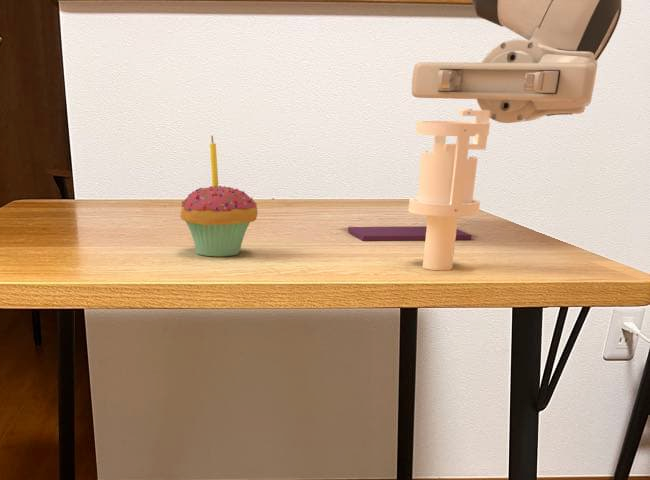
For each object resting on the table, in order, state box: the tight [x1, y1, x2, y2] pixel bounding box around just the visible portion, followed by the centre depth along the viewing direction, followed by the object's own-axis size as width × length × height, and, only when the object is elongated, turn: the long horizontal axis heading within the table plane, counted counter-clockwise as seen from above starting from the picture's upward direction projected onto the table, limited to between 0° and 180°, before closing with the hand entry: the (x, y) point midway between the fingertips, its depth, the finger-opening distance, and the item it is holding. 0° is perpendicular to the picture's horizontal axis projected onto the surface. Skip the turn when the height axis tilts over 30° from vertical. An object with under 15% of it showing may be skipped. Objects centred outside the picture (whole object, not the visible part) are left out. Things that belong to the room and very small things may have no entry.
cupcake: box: [180, 135, 258, 258], centre depth 96 cm, size 9×8×12 cm
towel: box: [347, 225, 472, 242], centre depth 113 cm, size 14×8×1 cm, turn 98°
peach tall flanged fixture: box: [408, 108, 491, 271], centre depth 89 cm, size 7×7×15 cm
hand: (486, 80), depth 94 cm, fingers open, 8 cm apart
